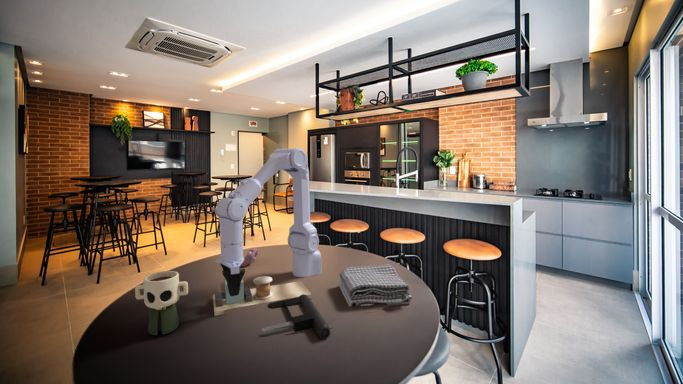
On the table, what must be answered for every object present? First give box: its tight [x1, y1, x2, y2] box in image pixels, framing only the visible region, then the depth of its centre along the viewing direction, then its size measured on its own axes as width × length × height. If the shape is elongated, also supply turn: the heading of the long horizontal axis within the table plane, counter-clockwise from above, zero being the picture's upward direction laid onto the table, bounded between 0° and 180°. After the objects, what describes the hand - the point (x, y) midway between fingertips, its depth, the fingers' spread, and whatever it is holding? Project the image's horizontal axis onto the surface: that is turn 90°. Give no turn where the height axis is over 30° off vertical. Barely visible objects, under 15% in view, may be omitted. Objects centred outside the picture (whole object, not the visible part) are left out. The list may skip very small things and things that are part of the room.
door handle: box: [258, 294, 333, 340], centre depth 76 cm, size 3×20×16 cm
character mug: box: [134, 270, 189, 336], centre depth 72 cm, size 11×7×13 cm, turn 104°
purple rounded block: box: [240, 247, 261, 268], centre depth 121 cm, size 10×5×7 cm, turn 0°
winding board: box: [212, 275, 313, 317], centre depth 89 cm, size 26×11×6 cm, turn 114°
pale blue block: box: [224, 278, 245, 304], centre depth 85 cm, size 4×3×6 cm, turn 114°
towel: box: [338, 263, 413, 307], centre depth 91 cm, size 15×18×8 cm
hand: (233, 291), depth 85 cm, fingers open, 5 cm apart
